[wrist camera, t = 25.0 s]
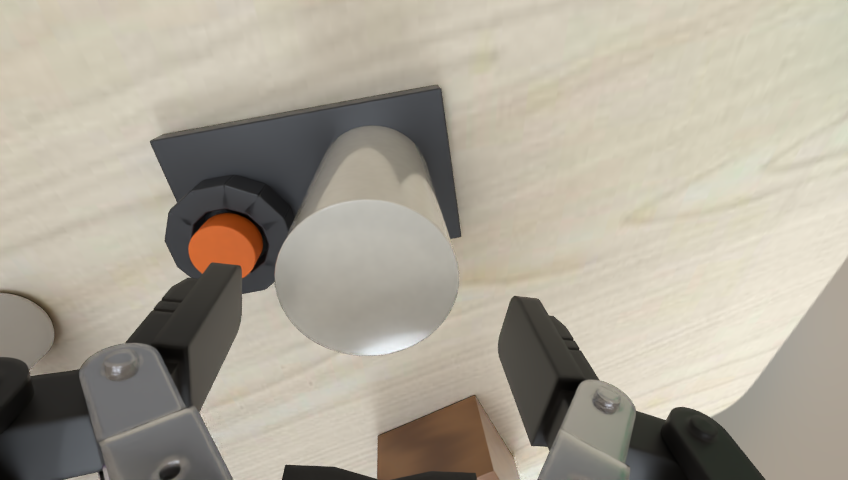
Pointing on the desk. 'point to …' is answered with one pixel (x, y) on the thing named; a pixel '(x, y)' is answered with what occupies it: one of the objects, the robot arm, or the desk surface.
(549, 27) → the desk surface
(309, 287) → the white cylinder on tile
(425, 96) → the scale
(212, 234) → the button
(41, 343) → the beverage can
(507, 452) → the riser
